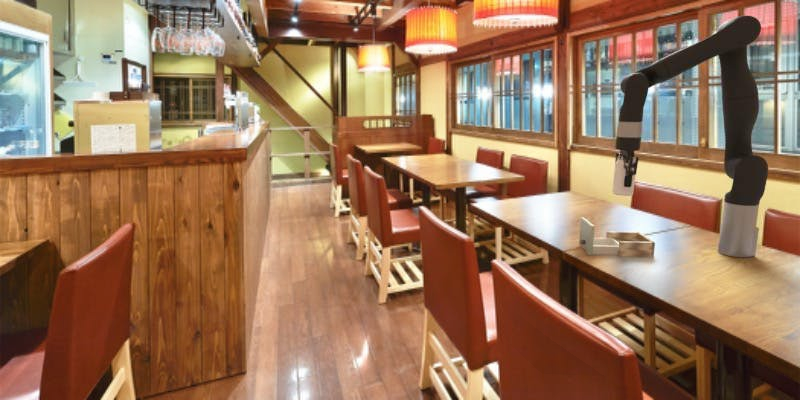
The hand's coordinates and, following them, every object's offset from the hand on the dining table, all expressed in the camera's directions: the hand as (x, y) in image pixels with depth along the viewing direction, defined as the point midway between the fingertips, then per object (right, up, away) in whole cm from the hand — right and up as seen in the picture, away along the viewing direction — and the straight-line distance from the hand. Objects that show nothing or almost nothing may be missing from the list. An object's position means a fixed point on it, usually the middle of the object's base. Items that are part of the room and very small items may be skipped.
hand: (623, 185), depth 155 cm
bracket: (-7, -22, +2) cm, 24 cm away
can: (0, -3, +1) cm, 3 cm away
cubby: (+2, -23, +2) cm, 23 cm away
